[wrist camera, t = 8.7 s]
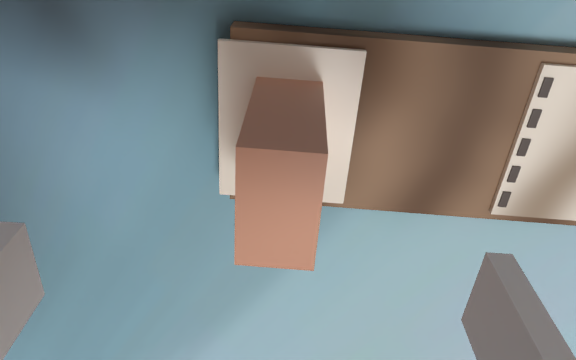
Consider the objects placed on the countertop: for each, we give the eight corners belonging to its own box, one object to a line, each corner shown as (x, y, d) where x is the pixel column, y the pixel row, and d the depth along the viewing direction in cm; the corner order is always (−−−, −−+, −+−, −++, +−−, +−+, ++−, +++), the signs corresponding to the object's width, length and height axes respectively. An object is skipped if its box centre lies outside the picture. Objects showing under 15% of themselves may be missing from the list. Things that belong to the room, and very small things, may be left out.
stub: (220, 191, 25) (190, 290, 18) (219, 38, 20) (178, 98, 14) (342, 200, 25) (354, 302, 18) (365, 49, 20) (390, 115, 14)
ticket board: (233, 186, 26) (228, 202, 25) (234, 20, 21) (229, 29, 20) (607, 215, 26) (624, 233, 25) (690, 56, 21) (716, 67, 20)
